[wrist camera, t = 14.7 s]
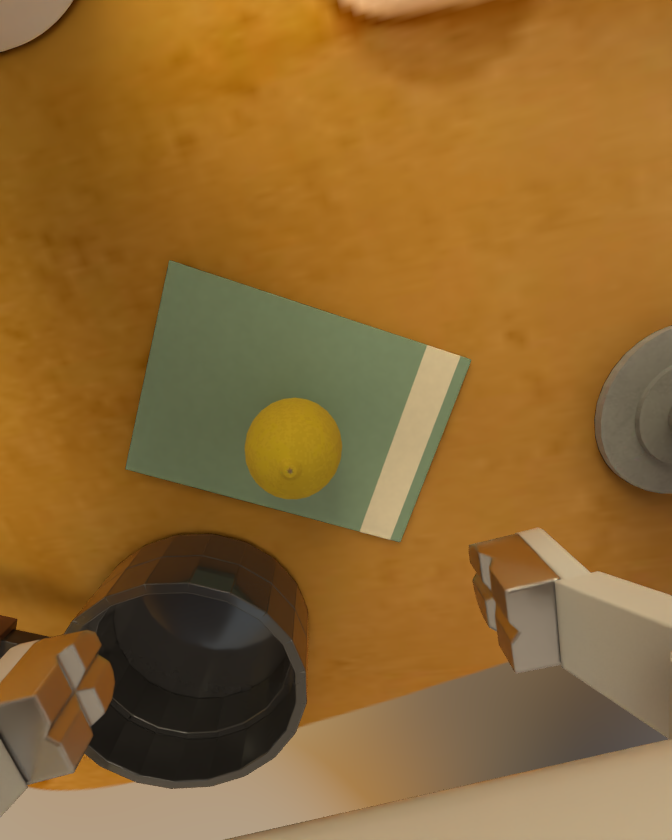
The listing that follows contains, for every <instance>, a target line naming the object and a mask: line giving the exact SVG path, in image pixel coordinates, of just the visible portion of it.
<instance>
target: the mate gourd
mask: <svg viewBox="0 0 672 840" xmlns="http://www.w3.org/2000/svg"><path fill="white" fill-rule="evenodd" d="M595 436H596V440H597V444H598V448H599V451H600V453H601V454H602V456H603V458H604V460H605V462H606V464H607V465H608V466H609V467H610V468H611V469H612V470H613V472H614V473H615V474H617V475H618V476H619V477H621V478H622V479H624V480H625V481H626V482H628V483H630V484H632V485H634V486H637V487H639V488H641V489H644V490H646V491H651V492H657V493H672V325H671V326H669V327H666V328H664V329H661V330H659V331H656V332H654V333H652V334H651V335H649V336H648V337H646V338H645V339H643V340H641V341H640V342H638V343H637V344H636V345H635V346H634V347H633V348H632V349H630V350H629V351H628V352H627V353H626V354H625V355H624V356H623V357H622V358H621V360H620V361H619V362H618V363H617V365H616V366H615V367H614V368H613V369H612V371H611V373H610V375H609V376H608V378H607V380H606V382H605V383H604V385H603V388H602V391H601V393H600V396H599V399H598V402H597V407H596V414H595Z"/></svg>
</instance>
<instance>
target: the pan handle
mask: <svg viewBox="0 0 672 840" xmlns="http://www.w3.org/2000/svg"><path fill="white" fill-rule="evenodd" d="M16 624H17V619H15V618H11V617H6V616H1V615H0V659H1V658H2V657H3V656H4V655H5V653H6V652H7V651H8V650H9V649H10V648H12V647H14V646H16V645H19V644H22V643H26V642H31V641H35V640H42V639H44V638H49V637H48V636H43V635H39V634H34V633H29V632H25V631H20V630H16Z"/></svg>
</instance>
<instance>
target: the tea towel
mask: <svg viewBox="0 0 672 840" xmlns="http://www.w3.org/2000/svg"><path fill="white" fill-rule="evenodd" d="M470 362H471V359H468V358H465V357H462V356H459V355H456V354H453V353H450V352H447V351H444V350H441V349H438V348H435V347H432V346H429V345H426V344H423V343H419V342H416V341H413V340H410V339H407V338H404V337H401V336H398V335H395V334H392V333H389V332H386V331H383V330H380V329H377V328H374V327H371V326H368V325H365V324H362V323H359V322H356V321H353V320H350V319H347V318H344V317H341V316H338V315H335V314H332V313H329V312H326V311H322V310H319V309H316V308H313V307H310V306H307V305H304V304H301V303H298V302H295V301H292V300H289V299H286V298H283V297H280V296H277V295H274V294H271V293H268V292H265V291H262V290H259V289H256V288H253V287H250V286H247V285H244V284H241V283H238V282H235V281H232V280H229V279H225V278H222V277H219V276H216V275H213V274H210V273H207V272H204V271H201V270H198V269H195V268H192V267H189V266H186V265H183V264H180V263H177V262H174V261H171V260H170V261H169V264H168V269H167V274H166V278H165V283H164V288H163V293H162V297H161V302H160V307H159V312H158V316H157V321H156V326H155V331H154V335H153V340H152V345H151V350H150V354H149V359H148V364H147V369H146V373H145V378H144V383H143V388H142V392H141V397H140V402H139V406H138V411H137V416H136V421H135V425H134V430H133V435H132V440H131V444H130V449H129V454H128V459H127V463H126V468H125V469H127V470H131V471H134V472H138V473H142V474H146V475H149V476H153V477H157V478H161V479H164V480H168V481H172V482H176V483H179V484H183V485H187V486H191V487H194V488H198V489H202V490H206V491H209V492H213V493H217V494H221V495H224V496H228V497H232V498H236V499H239V500H243V501H247V502H251V503H254V504H258V505H262V506H266V507H269V508H273V509H277V510H281V511H284V512H288V513H292V514H296V515H299V516H303V517H307V518H311V519H314V520H318V521H322V522H326V523H330V524H333V525H337V526H341V527H345V528H348V529H352V530H356V531H360V532H362V533H366V534H370V535H374V536H377V537H381V538H385V539H389V540H393V541H397V542H401V539H402V536H403V534H404V531H405V529H406V526H407V524H408V521H409V519H410V516H411V513H412V511H413V508H414V506H415V503H416V501H417V498H418V495H419V493H420V490H421V488H422V485H423V483H424V480H425V478H426V475H427V472H428V470H429V467H430V465H431V462H432V460H433V457H434V455H435V452H436V449H437V447H438V444H439V442H440V439H441V437H442V434H443V431H444V429H445V426H446V424H447V421H448V419H449V416H450V414H451V411H452V408H453V406H454V403H455V401H456V398H457V396H458V393H459V391H460V388H461V385H462V383H463V380H464V378H465V375H466V373H467V370H468V367H469V365H470ZM287 398H301V399H307V400H310V401H312V402H315V403H317V404H319V405H320V406H321V407H323V408H324V409H325V410H327V411H328V413H329V414H330V415H331V416H332V418H333V419H334V420H335V422H336V424H337V426H338V429H339V431H340V434H341V441H342V453H341V460H340V463H339V465H338V468H337V471H336V473H335V475H334V476H333V477H332V479H331V480H330V482H329V483H328V484H327V485H326V486H325V487H323V488H322V489H321V490H320V491H319V492H317V493H315V494H313V495H311V496H309V497H305V498H301V499H283V498H279V497H275V496H273V495H271V494H270V493H268V492H266V491H265V490H264V489H262V488H261V487H260V486H259V485H258V484H257V483H256V482H255V480H254V479H253V477H252V476H251V474H250V472H249V469H248V466H247V464H246V459H245V441H246V436H247V432H248V430H249V428H250V426H251V423H252V421H253V420H254V419H255V417H256V416H257V415H258V414H259V413H260V412H261V410H263V409H264V408H266V407H267V406H269V405H270V404H272V403H274V402H276V401H279V400H282V399H287Z"/></svg>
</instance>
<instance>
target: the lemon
mask: <svg viewBox="0 0 672 840" xmlns="http://www.w3.org/2000/svg"><path fill="white" fill-rule="evenodd" d="M341 453H342V441H341V434H340V431H339V429H338V426H337V424H336V422H335V420H334V419H333V418H332V416H331V415H330V414H329V413H328V411H327V410H325V409H324V408H323V407H321V406H320V405H319V404H317V403H315V402H312V401H310V400H307V399H301V398H287V399H282V400H279V401H276V402H274V403H272V404H270V405H269V406H267V407H266V408H264V409H263V410H261V412H260V413H259V414H258V415H257V416H256V417H255V419H254V420H253V421H252V423H251V426H250V428H249V430H248V432H247V436H246V441H245V459H246V464H247V466H248V469H249V472H250V474H251V476H252V477H253V479H254V480H255V482H256V483H257V484H258V485H259V486H260V487H261V488H262V489H264V490H265V491H266V492H268V493H270V494H271V495H273V496H275V497H279V498H283V499H301V498H305V497H309V496H311V495H313V494H315V493H317V492H319V491H320V490H321V489H322V488H323V487H325V486H326V485H327V484H328V483H329V482H330V480H331V479H332V477H333V476H334V475H335V473H336V471H337V468H338V465H339V463H340V460H341Z"/></svg>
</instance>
